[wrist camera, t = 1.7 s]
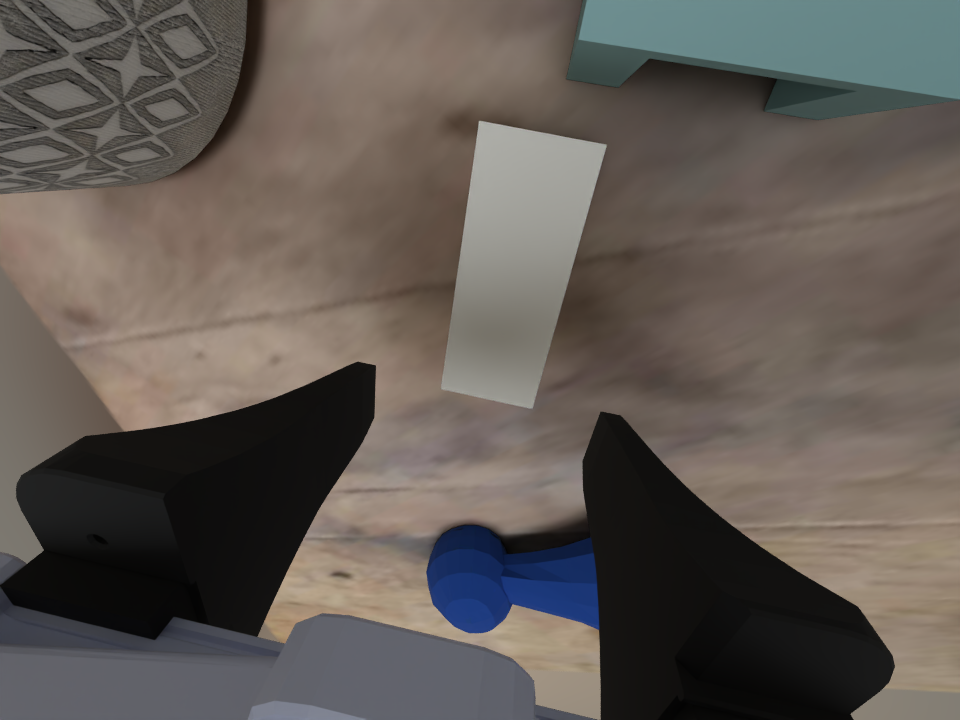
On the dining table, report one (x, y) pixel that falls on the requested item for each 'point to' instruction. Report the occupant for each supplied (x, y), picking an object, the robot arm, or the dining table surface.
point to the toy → (509, 580)
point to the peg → (516, 258)
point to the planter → (112, 88)
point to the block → (785, 48)
